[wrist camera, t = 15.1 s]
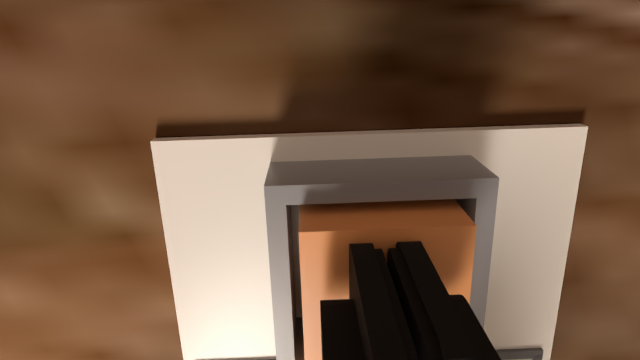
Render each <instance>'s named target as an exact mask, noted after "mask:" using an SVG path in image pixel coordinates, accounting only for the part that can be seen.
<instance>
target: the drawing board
mask: <svg viewBox="0 0 640 360" xmlns="http://www.w3.org/2000/svg"><path fill="white" fill-rule="evenodd" d="M587 131H588V126H585V125H583V124H552V125H522V126H493V127H463V128H434V129H405V130H375V131H346V132H316V133H287V134H258V135H228V136H199V137H169V138H154V139H153V140H152V141H150V142H151V149H152V156H153V162H154V169H155V175H156V182H157V188H158V195H159V201H160V208H161V215H162V221H163V228H164V234H165V241H166V247H167V254H168V261H169V267H170V274H171V280H172V287H173V293H174V300H175V306H176V313H177V320H178V326H179V333H180V339H181V346H182V352H183V359H184V360H305V358H304V337H303V316H302V295H301V274H300V253H299V233H298V232H299V207H300V205H305V204H332V203H359V202H386V201H414V200H441V199H455V201H456V202H457V203H458V204H459V205H460V207H461V208H462V209H463V210H464V211H465V212H466V214H467V215H468V216H469V217H470V218H471V220H472V221H473V222H474V223H475V224H476V226H477V227H476V238H475V249H474V260H473V271H472V283H471V294H470V307H471V309H472V310H473V312H474V314H475V315H476V317H477V319H478V321H479V322H480V324H481V326H482V328H483V329H484V331H485V333H486V334H487V336H488V338H489V340H490V341H491V343H492V345H493V347H494V348H495V350H496V352H497V353H498V355H499V357H500V359H501V360H550V357H551V351H552V344H553V338H554V332H555V326H556V320H557V314H558V308H559V302H560V296H561V290H562V283H563V277H564V271H565V265H566V259H567V253H568V247H569V241H570V235H571V229H572V222H573V216H574V210H575V204H576V198H577V192H578V186H579V180H580V174H581V168H582V161H583V155H584V149H585V143H586V137H587Z"/></svg>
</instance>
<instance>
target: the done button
mask: <svg viewBox="0 0 640 360" xmlns="http://www.w3.org/2000/svg"><path fill="white" fill-rule="evenodd" d="M476 227H477V226H476V224H475V223H474V222H473V221H472V220H471V218H470V217H469V216H468V215H467V214H466V212H465V211H464V210H463V209H462V208H461V207H460V205H459V204H458V203H457V202H456V201H455V199H441V200H414V201H386V202H359V203H332V204H305V205H300V207H299V232H298V233H299V253H300V274H301V295H302V316H303V337H304V358H305V360H322V344H321V315H320V300H337V299H349V244H356V243H373V246H374V249H382V250H383V253H384V256H385V259H386V262H387V252H388V248H396V243H397V242H406V241H421V242H422V244H423V246H424V248H425V250H426V252H427V254H428V255H429V257H430V259H431V261H432V263H433V265H434V267H435V269H436V271H437V273H438V274H439V276H440V278H441V280H442V282H443V284H444V286H445V288H446V290H447V292H448V293H449V295H456V294H461V295H463V296H464V297H465V298H466V300H467V302H468V303H469V305H470V294H471V283H472V271H473V260H474V249H475V238H476Z"/></svg>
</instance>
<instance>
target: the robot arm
mask: <svg viewBox="0 0 640 360" xmlns="http://www.w3.org/2000/svg"><path fill="white" fill-rule="evenodd" d="M320 315H321V344H322V360H501V359H500V357H499V355H498V353H497V352H496V350H495V348H494V347H493V345H492V343H491V341H490V340H489V338H488V336H487V334H486V333H485V331H484V329H483V328H482V326H481V324H480V322H479V321H478V319H477V317H476V315H475V314H474V312H473V310H472V309H471V307H470V305H469V303H468V302H467V300H466V298H465V297H464V296H463V295H461V294H456V295H449V293H448V292H447V290H446V288H445V286H444V284H443V282H442V280H441V278H440V276H439V274H438V273H437V271H436V269H435V267H434V265H433V263H432V261H431V259H430V257H429V255H428V254H427V252H426V250H425V248H424V246H423V244H422V242H421V241H406V242H397V243H396V248H388V252H387V262H386V259H385V256H384V253H383V250H382V249H374V246H373V243H356V244H349V299H337V300H320Z"/></svg>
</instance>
